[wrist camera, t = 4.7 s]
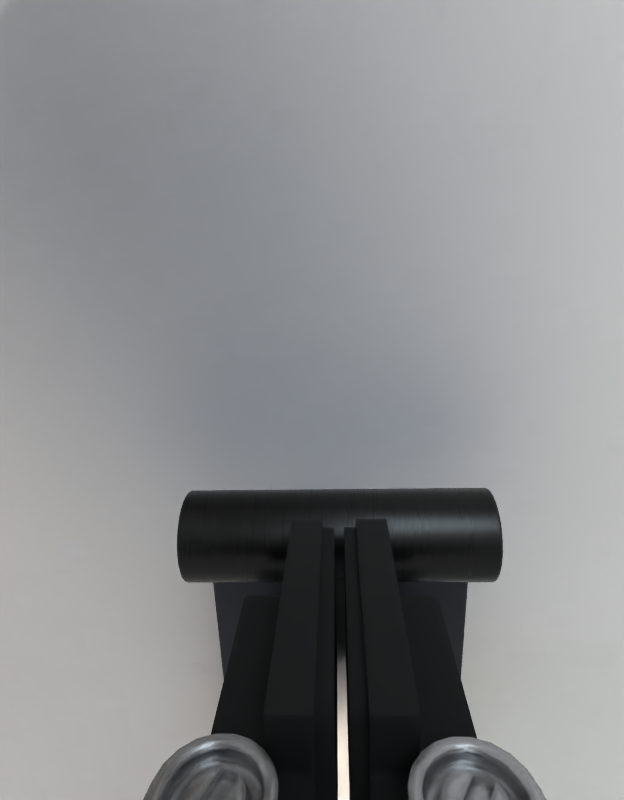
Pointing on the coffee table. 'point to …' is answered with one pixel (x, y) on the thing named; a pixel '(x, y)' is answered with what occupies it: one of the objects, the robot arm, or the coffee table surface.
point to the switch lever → (340, 545)
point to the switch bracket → (448, 593)
